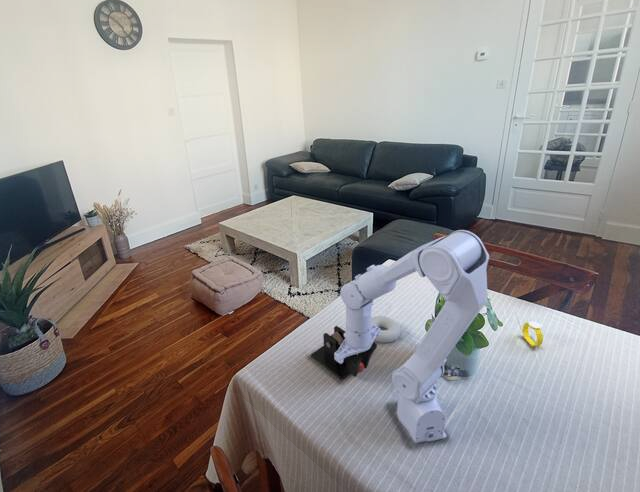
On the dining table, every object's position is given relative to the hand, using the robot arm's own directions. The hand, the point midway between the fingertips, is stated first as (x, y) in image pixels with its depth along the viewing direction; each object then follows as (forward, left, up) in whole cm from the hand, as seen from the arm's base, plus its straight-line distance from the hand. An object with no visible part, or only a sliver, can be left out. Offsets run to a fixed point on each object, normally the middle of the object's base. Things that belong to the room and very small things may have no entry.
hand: (358, 369), depth 84 cm
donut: (+13, -13, -2) cm, 18 cm away
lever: (+4, +2, +2) cm, 5 cm away
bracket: (+6, +3, -2) cm, 8 cm away
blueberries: (-4, -23, -2) cm, 23 cm away
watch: (0, -49, -2) cm, 49 cm away
